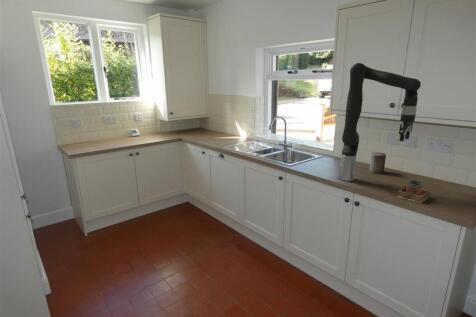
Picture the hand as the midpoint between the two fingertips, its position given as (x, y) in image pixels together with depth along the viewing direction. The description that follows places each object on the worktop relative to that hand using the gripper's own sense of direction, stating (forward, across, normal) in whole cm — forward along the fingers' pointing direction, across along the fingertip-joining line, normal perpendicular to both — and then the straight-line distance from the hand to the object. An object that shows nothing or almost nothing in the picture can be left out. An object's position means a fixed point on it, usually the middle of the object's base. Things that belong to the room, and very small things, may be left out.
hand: (404, 140), depth 175 cm
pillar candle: (+30, -19, -21) cm, 41 cm away
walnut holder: (+30, +12, +13) cm, 35 cm away
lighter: (+30, +12, +13) cm, 34 cm away
